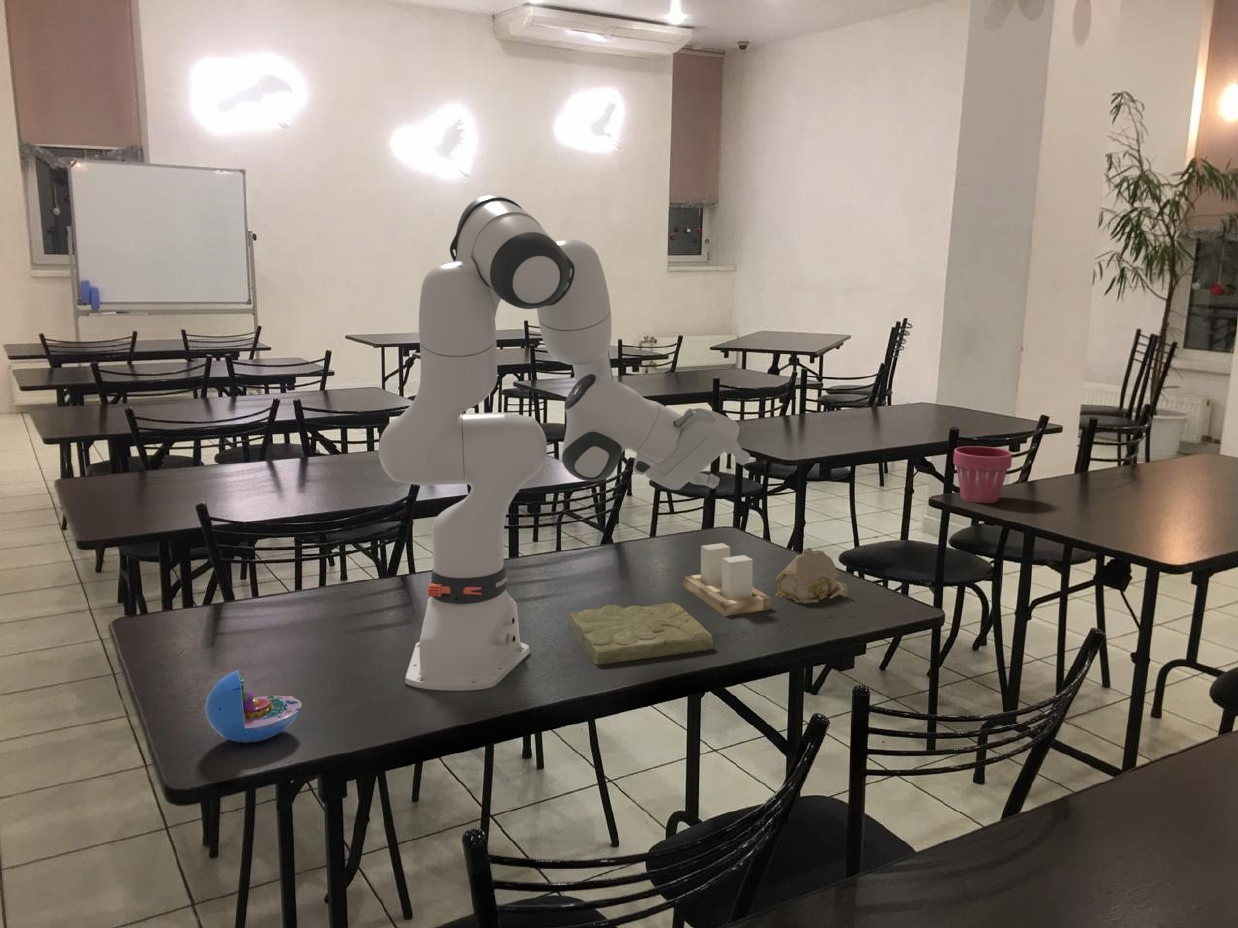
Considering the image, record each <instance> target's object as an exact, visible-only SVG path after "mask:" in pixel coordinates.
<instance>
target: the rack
mask: <svg viewBox="0 0 1238 928" xmlns="http://www.w3.org/2000/svg"><path fill="white" fill-rule="evenodd" d="M683 588H684V589H686V590H687V591H688V592H689V593H692V594H693V595H694V596H696V597H697V598H699V599H700V600H702V601H703V602H704V603H706V604H707V605H709V606H710V607H711V608H713V609H714V610H716V611H717V612H719V613H720V614H722V615H723V616H725V617H726V616H733V615H741V614H747V613H753V612H760V611H767V610H771V609H772V603H771V602H772V598H771V597H770V596H769V595H766V594H765V593H764V592H762V591H760V590H759V589H758V588H755V587H754V586H752V597H749V598H742V599H735V600H727V599H725V598H724V597H722V584H719V585H712V586H706V585H704V584H703V583H701V573H700V574H694V575H693V574H692V575H687V576H686V575H685V576H683Z"/></svg>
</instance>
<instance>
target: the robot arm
mask: <svg viewBox="0 0 1238 928" xmlns="http://www.w3.org/2000/svg"><path fill="white" fill-rule="evenodd" d="M454 252H455V253H454ZM449 253H450V256H451V259H452V262H448V263H447V262H446V263H445V264H444V263H443V264H441V265H438V266H436V267H434V268H433V269H431V270H430V271H429V272H427V274H426V275H425V277H424V278H423V281H422V284H421V289H420V290H421V291H420V297H419V299H420V300H419V310H418V311H419V312H418V334H419V335H418V336H419V337H418V338H419V339H418V340H419V350H420V351H419V353H420V376H419V377H420V379H419V387H418V391H417V392H416V396H414V397H415V398H414V399H413V401H412V402H411V404H410V405H409V406H408V407H407V409H406V410H404V411H403V412H402V414H400V415H399V416H397V417H396V418H394V419H393V420H391V421H390V423H388V424H387V425H386V427H385V429H384V430H383V432H382V434H381V436H380V438H379V443H378V456H379V461H380V464H381V466H382V469H383V470H384V473H386V475H387V476H388V477H389V478H390V479H391V480H392V481H394V482H397V483H403V484H410V485H417V486H440V485H441V486H445V485H464V484H465V485H468V486H470V487H471V488H470V492H468V493H469V494H468V495H467V496H466V497H464V498H463V499H462V500H460V501H459V502H457V503H454V504H453V505H451V506H449V507H447V508H446V509H443V511H441V512H440V513H439V514H438V515H437V516H436V518H435V520H434V521H433V524H432V526H431V537H432V538H431V539H432V555H433V556H432V558H433V559H432V561H433V567H432V569H431V571H430V572H431V575H430V579H429V584H428V586H427V587H428V588H427V595H428V597H429V598H428V599H427V600H426V604H427V605H426V608H425V613H424V618H423V621H422V628H421V630H420V637H419V641H418V642H416V643H415V645H414V649H413V652H412V654H411V655H412V656H411V659H410V661H409V665H408V667H407V671H406V674H405V680H404V683H405V684H406V685H408V686H411V687H414V688H419V689H424V690H434V691H452V692H453V691H456V692H457V691H458V692H459V691H475V690H476V691H477V690H484V689H490V688H493V687H495V686H496V685H497V684H499V683H500V682H501V680H503V679H504V678H505V677H506V676H508V674H509V673H511V671H512V670H513V669H514V668H516V666H518V665H519V663H521V662H522V661H523V660H524V659H525V658H526V657H527V656H528V655H529V654H530V653H531V651H530V646H529V645H528V644H526V643H525V642H521V640H520V639H521V638H520V626H519V615H518V614H519V613H518V603H517V602H516V601H515V600H514V599H513V598H512V597H511V595H509V593H508V591H507V588H508V572H507V567H506V565H505V564H504V531H505V521H506V516H507V513H508V510H509V507H510V505H511V503H512V501H513V499H514V498H515V496H516V494H517V493H518V492H519V490H521V489H522V487H523V486H524V485H525V484H526V483H527V482H528V481H529V480H531V479H532V478H533V477H535V476H536V475H537V474H538V473H539V471H541V469H542V467H543V465H544V463H545V461H546V458H547V452H548V444H547V443H548V442H547V437H546V434H545V432H544V430H543V428H542V426H541V425H540V424H539V422H538V421H537V420H536V419H535V418H534V417H532V416H529V415H523V414H519V413H517V414H516V413H512V412H511V413H510V412H506V411H505V412H502V411H501V412H477V413H475V412H474V413H464V412H466V411H469V409H471V408H473V407H475V406H477V405H479V404H481V403H482V402H483V401H485V400H486V398H488V396H490V395H491V393H492V392H493V390H494V389H495V387H496V384H497V381H498V355H497V353H498V350H497V348H498V347H497V328H496V327H497V325H496V317H497V311H498V307H499V305H500V302H501V300H503V301H505V302H506V303H507V304H509V305H511V306H512V307H515V308H518V309H519V308H520V309H524V310H534V309H536V310H537V311H536V312H537V318H538V326H539V331H540V335H541V338H542V341H543V343H544V347H545V349H546V351H547V353H548V355H550V357H552V358H553V359H555V360H556V361H558V362H559V363H563V364H566V365H570V366H572V369H573V374H574V380H575V384H574V385H573V387H572V388H571V390H570V392H569V393H568V395H567V397H566V399H565V402H564V410H565V413H566V427H565V428H566V429H565V436H564V438H563V439H564V440H563V445H562V450H561V461H562V464H563V466H564V468H565V470H566V471H567V472H568V473H569V474H571V476H573V477H575V478H576V479H578V480H582V481H584V482H599V481H603V480H606V479H608V478H609V477H611V476H612V475H613V473H614V472H615V471H616V468H617V467H618V464H619V463H620V462H619V461H620V460H621V457H622V454H623V452H625V450H631V451H633V452H635V453H636V454H635V455H636V456H635V458H634V462H633V466H632V471H633V472H634V473H635V474H638V475H641V476H644V475H645V476H646V477H647V478H648V479H649V480H651V481H652V482H654V483H656V484H658V485H660V486H662V487H664V488H667V489H669V490H675V491H677V490H678V491H679V490H680V489H682V488H683V487H685V485H686V484H688V483H690V484H692V485H699V486H706V487H708V488H709V489H713V490H714V489H716V488H717V487H718V486H719V484H720V481H721V479H720V477H719V476H717V475H715V474H713V473H710V474H707V473H706V474H705V473H702V471H703V470H705V469H706V467H708V466H709V465H710V464H712V463H713V462H714V461H715V460H716V459H718V457H720V456H722V455H723V453H726V454H728V455H730V454H732V456H733V457H734V462H735V463H737V464H739V465H741V466H744V465H745V464H746V463H749V461H750V457H751V455H750V453H749V452H747V451H746V450H744V449H742V446H741V445H740V444H739V442H738V441H737V440H738V437H739V436H738V435H739V432H740V425H739V423H738V422H737V421H736V420H734V419H732V418H730V417H727V416H725V415H723V414H721V413H718V412H716V411H713V410H711V409H707V408H701V407H697V408H688V409H686V410H685V411H684V413H682V414H680V413H679V412H676V411H674V410H672V409H670V408H669V407H667V406H666V405H664V404H661V403H659V402H658V401H654V400H650V399H647V398H645V397H643V396H642V395H641V394H640V393H639V392H637V391H636V390H635V389H634V388H631V387H629V386H628V385H626V384H623V383H622V382H620V381H618V380H615V379H614V377H613V370H612V364H611V363H612V362H611V359H610V358H611V356H610V352H609V351H610V347H611V343H612V342H611V341H612V310H611V309H612V308H611V303H610V295H609V289H608V285H607V281H606V277H605V273H604V268H603V266H602V262H601V260H600V257H599V255H598V253H597V251H596V250H595V249H594V248H593V247H592V246H591V245H589V244H588V243H586V242H584V241H582V240H579V239H578V240H577V239H562V240H559V241H558V240H557V241H555V240H554V239H553V238H552V237H551V236H550V235H549V234H548V232H546V230H545V229H544V228H543V227H542V225H541V223H539V222H538V221H537V219H535V217H533V216H532V215H531V214H529V213H528V212H527V211H526V210H524V209H523V208H522V206H520V205H519V204H518V203H516V202H515V201H513V200H511V199H509V198H507V197H504V196H500V195H494V194H493V195H483V196H480V197H478V198H476V199H474V200H472V201H471V202H470V203H469V204H468V205H467V206H466V208H465V209H464V210H463V212H462V214H461V216H460V218H459V221H458V224H457V228H456V232H455V235H454V237H453V239H452V241H451V243H450V246H449Z"/></svg>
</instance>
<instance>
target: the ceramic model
mask: <svg viewBox="0 0 1238 928" xmlns="http://www.w3.org/2000/svg"><path fill="white" fill-rule="evenodd" d="M837 578H839V572H838V570H837V567H836V565H835V563H834V561H833V559H832V558H831V557H830V556H829V555H827V554H826V553H825V552H824V551H823V550H820V549H817V550H813V548H811V547H808V548H804V549H803V553H800V554H799V555H796V556H795V557H794V559H792V560H791V562H790V563H789V564H788V565H787V566H786V567H785V568H784V569H783V570H781V572H780V573H779V574H778V575H777V577H776V579H775V581H776V583H777V585H776V586H777V590H778V591H777V592H776V593H775V595H776V596H779V598H783V597H784V598H787V599H789V600H793V601H794V602H795V603H801V604H808V603H809V604H810V603H812V604H813V603H819V602H820V600H823V599H825V598H828V599H833V598H835V597H837V596H839V595H840V596H842V597H844V598H846V597H847V595H848V584H846V583H842V582H839V581H836V579H837ZM828 595H830V596H829V597H828Z"/></svg>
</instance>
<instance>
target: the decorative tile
mask: <svg viewBox="0 0 1238 928" xmlns="http://www.w3.org/2000/svg"><path fill="white" fill-rule="evenodd" d="M568 628H569V630H570V631H571V633H572V635H573V636H574V637H575V639H576V640H577V642H578V643H579V645H580V646H581V647H582V649H583V650H584V652H585V653H586V654H587V655H588V657H589V658H590V659H591V661H592V663H594V665H605V664H611V663H612V664H613V663H619V662H627V661H628V662H629V661H635V660H642V659H643V658H644V659H650V658H656V657H666V656H671V655H673V656H674V655H681V654H686V653H688V652H689V653H695V652H694V651H696V652H701V651H700V650H703V651H707V650H706V649H711V650H713V649H714V643H713V641H714V639H713V635H711V633H710V632H709V631H708V630H707V629H706V628H704V626H703V625H702V624H701V623H700V622H699V621H697V620H696V619H695V618H694V617H693V616H691V614H689V613H688V612H687V611H686V610H685V609H684V608H683V607H681V606H680V604H676V603H675V602H667V603H666V602H665V603H662V604H661V603H660V604H656V605H647V606H640V605H630V606H627V607H622V606H620V605H614V604H613V605H611V604H608V605H604V606H602V608H590V609H589V608H588V609H584V610H583V611H578V612H570V613H569V618H568ZM680 653H681V654H680Z"/></svg>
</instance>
